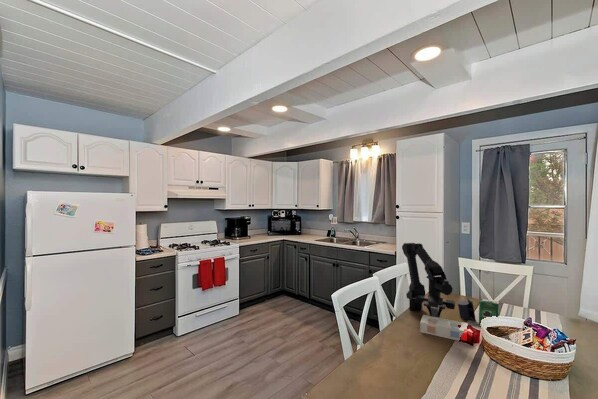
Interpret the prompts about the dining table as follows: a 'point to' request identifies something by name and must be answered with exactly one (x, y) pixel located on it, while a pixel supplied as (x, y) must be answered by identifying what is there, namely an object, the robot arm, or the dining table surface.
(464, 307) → the speaker
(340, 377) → the dining table surface
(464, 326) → the port block
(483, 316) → the coffee box
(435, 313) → the plug
